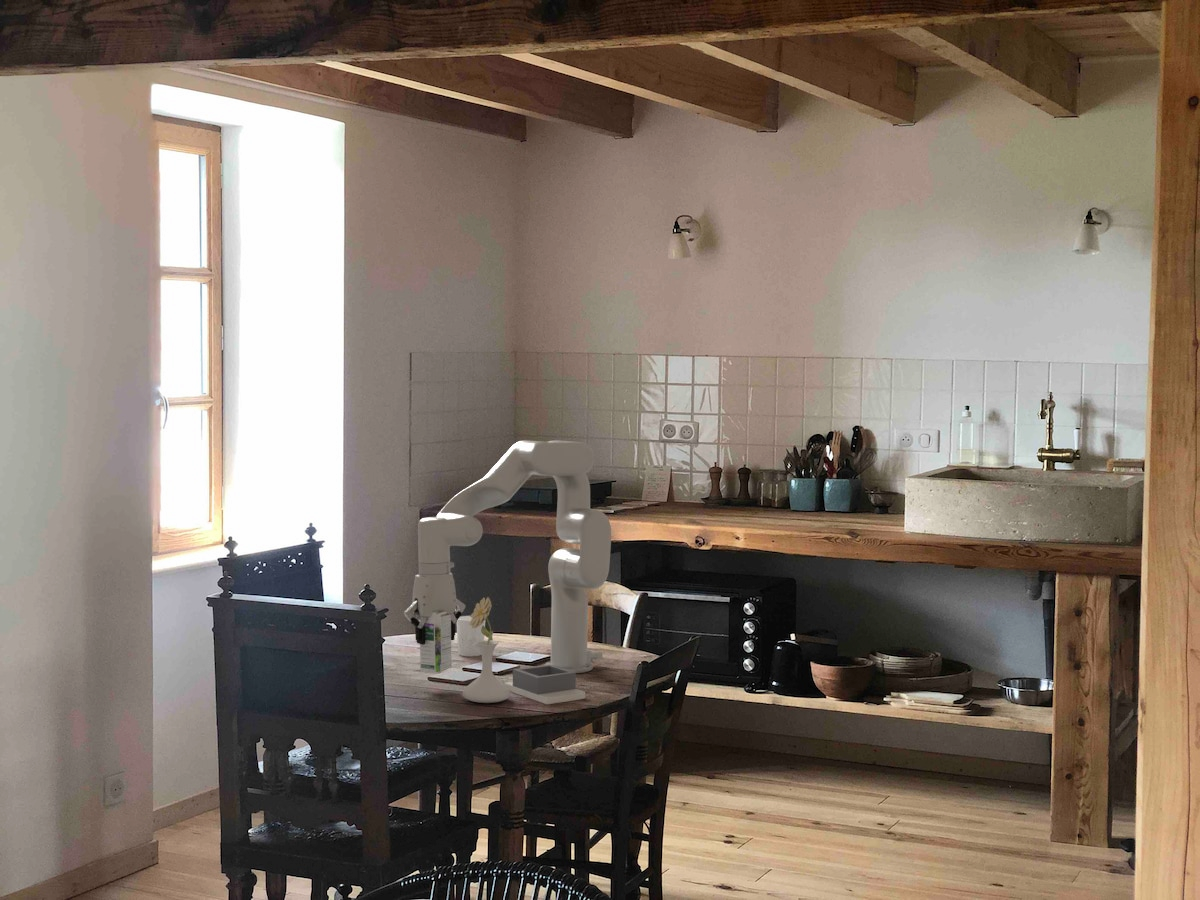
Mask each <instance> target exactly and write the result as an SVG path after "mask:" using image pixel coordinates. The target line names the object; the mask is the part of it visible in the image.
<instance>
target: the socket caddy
mask: <svg viewBox="0 0 1200 900" xmlns="http://www.w3.org/2000/svg"><path fill="white" fill-rule="evenodd" d="M576 676H577V673H576V672H572V671H569V670H566V669H563V668H560V667H557V666H554V665H545V664H544V665H537V666H528V667H521V668H513V669H512V681H507V682H503V684H504V685H505V686H506V687H507V688H508V689H509V690H510V692H511V693H514V694H517V695H520V696H522V697H525V698H528V699H530V700H533V701H536V702H539V703H542V704H544V705H551V704H558V703H559V704H560V703H565V702H570V701H578V700H584V699H586V692H585V691H582V690H580V689H577V688H576V685H577V683H576V682H577V681H576V678H577V677H576Z"/></svg>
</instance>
